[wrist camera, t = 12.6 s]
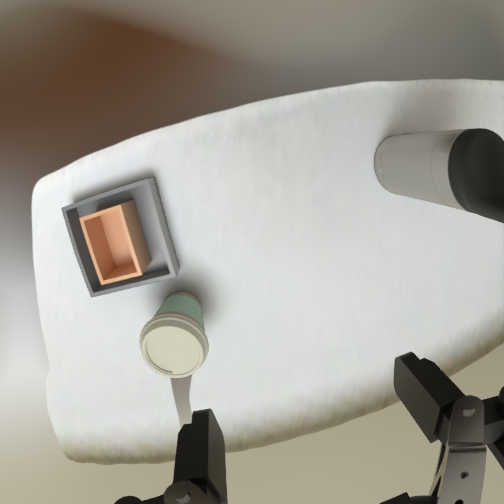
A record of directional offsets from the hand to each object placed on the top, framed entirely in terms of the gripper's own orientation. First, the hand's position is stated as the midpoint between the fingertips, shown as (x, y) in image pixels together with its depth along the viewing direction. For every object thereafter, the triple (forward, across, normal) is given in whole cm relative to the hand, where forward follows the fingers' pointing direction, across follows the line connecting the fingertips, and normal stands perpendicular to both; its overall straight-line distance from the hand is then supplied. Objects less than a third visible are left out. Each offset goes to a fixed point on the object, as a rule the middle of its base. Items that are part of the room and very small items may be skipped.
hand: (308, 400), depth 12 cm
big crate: (+33, +17, -4) cm, 37 cm away
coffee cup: (+33, +12, +9) cm, 37 cm away
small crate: (+32, +17, -4) cm, 37 cm away
